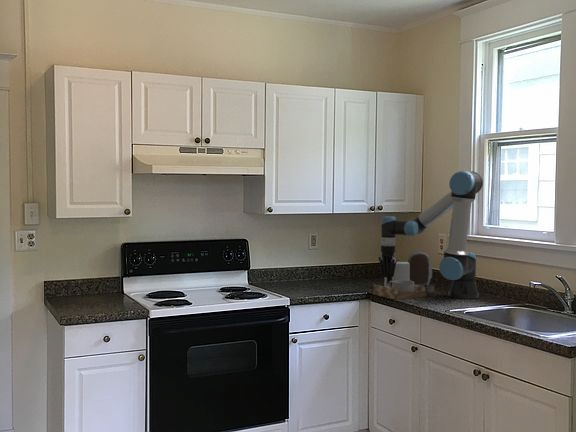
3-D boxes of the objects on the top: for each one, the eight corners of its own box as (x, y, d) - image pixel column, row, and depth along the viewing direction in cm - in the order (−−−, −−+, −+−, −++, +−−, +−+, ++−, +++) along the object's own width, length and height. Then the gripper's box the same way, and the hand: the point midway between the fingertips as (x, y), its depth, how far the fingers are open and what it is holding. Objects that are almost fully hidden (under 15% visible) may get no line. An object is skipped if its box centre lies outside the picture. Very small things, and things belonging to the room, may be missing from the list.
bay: (440, 296, 325) (440, 279, 325) (399, 300, 311) (399, 282, 311) (412, 290, 343) (413, 274, 343) (373, 294, 329) (373, 277, 329)
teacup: (418, 296, 323) (418, 281, 322) (405, 299, 315) (405, 283, 315) (396, 293, 333) (396, 278, 332) (383, 295, 325) (383, 280, 325)
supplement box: (408, 288, 350) (408, 261, 350) (409, 290, 341) (410, 263, 341) (391, 288, 351) (392, 261, 351) (392, 290, 342) (393, 263, 342)
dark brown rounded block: (405, 286, 359) (406, 251, 358) (406, 283, 367) (406, 249, 366) (432, 287, 355) (433, 251, 355) (432, 284, 364) (432, 250, 363)
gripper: (374, 244, 337) (373, 288, 338) (390, 246, 325) (389, 291, 327) (385, 243, 341) (384, 287, 342) (401, 246, 329) (400, 290, 330)
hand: (387, 289), depth 334 cm, fingers closed
